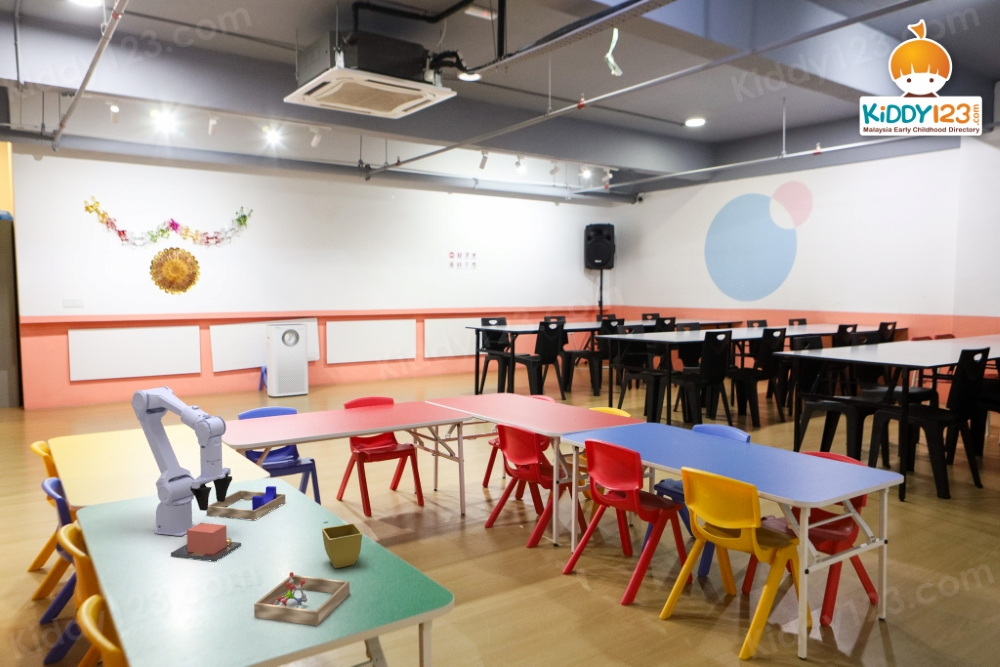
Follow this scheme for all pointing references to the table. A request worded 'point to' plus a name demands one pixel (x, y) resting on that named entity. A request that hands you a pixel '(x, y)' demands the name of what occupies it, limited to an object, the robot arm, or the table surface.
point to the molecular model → (290, 594)
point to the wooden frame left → (221, 511)
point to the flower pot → (342, 544)
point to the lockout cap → (206, 538)
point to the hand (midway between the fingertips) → (212, 505)
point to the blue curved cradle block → (264, 497)
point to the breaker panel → (184, 554)
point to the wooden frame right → (296, 614)
